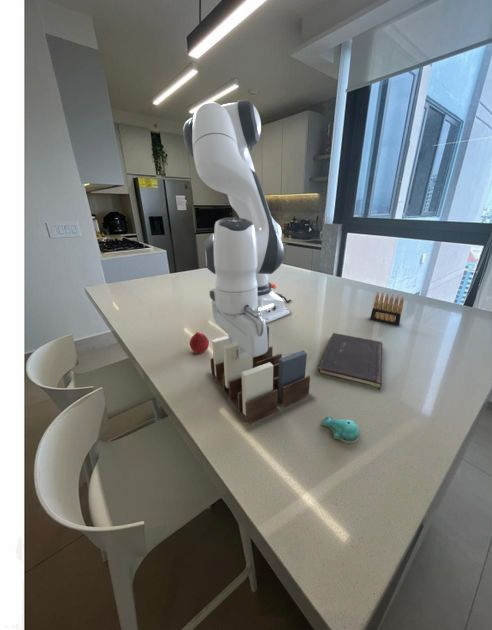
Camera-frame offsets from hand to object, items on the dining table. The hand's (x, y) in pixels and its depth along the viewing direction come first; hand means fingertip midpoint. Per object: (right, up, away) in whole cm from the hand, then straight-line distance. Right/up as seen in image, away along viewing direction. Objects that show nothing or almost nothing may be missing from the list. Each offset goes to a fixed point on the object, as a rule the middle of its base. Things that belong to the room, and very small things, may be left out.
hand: (238, 354), depth 61 cm
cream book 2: (0, -7, +3) cm, 8 cm away
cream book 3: (+5, -12, -2) cm, 13 cm away
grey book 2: (+13, -10, +3) cm, 16 cm away
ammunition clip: (+55, +6, +43) cm, 70 cm away
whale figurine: (+22, -16, -7) cm, 28 cm away
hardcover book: (+33, -5, +18) cm, 38 cm away
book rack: (+4, -9, +7) cm, 12 cm away
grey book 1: (+4, -5, +15) cm, 16 cm away
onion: (-14, -3, +21) cm, 26 cm away
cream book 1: (-4, -7, +10) cm, 13 cm away
